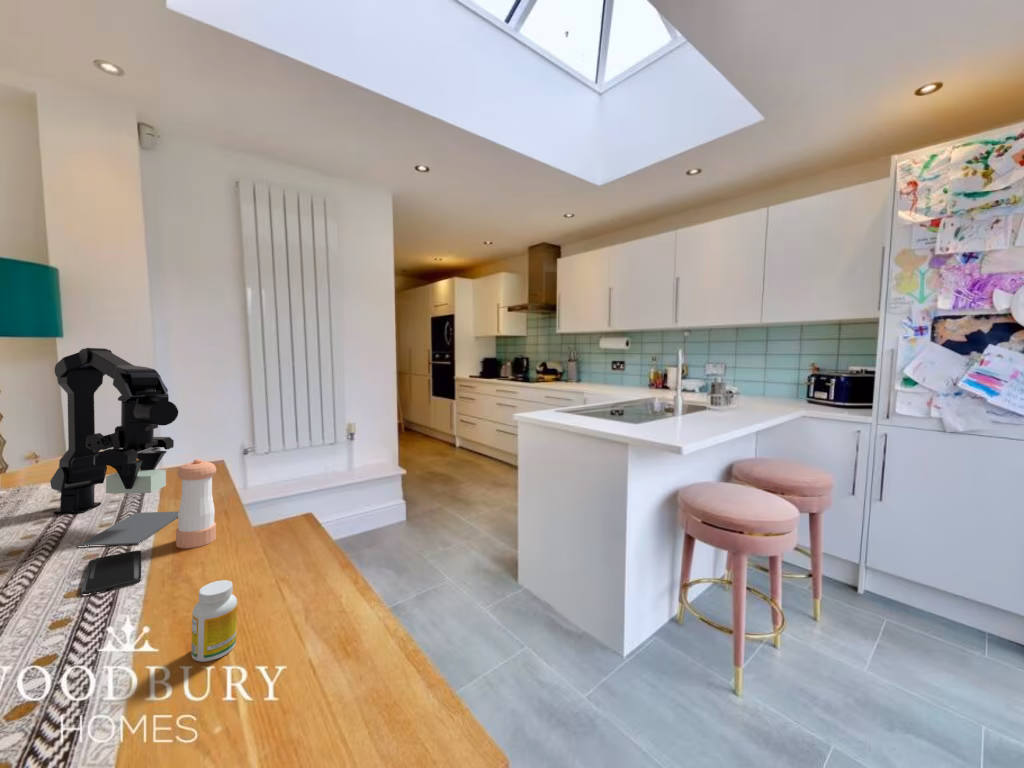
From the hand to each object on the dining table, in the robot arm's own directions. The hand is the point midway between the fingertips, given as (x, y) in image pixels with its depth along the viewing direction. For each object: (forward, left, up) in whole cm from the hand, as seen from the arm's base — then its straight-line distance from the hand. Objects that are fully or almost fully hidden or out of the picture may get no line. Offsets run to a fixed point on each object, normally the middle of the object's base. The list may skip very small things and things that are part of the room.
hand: (137, 485), depth 97 cm
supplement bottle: (+48, +37, -11) cm, 61 cm away
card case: (0, 0, -1) cm, 1 cm away
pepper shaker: (+9, +17, -11) cm, 22 cm away
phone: (+22, +9, -11) cm, 26 cm away
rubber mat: (0, 0, -11) cm, 11 cm away
